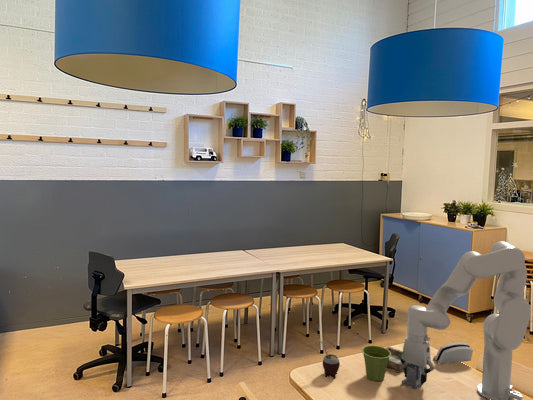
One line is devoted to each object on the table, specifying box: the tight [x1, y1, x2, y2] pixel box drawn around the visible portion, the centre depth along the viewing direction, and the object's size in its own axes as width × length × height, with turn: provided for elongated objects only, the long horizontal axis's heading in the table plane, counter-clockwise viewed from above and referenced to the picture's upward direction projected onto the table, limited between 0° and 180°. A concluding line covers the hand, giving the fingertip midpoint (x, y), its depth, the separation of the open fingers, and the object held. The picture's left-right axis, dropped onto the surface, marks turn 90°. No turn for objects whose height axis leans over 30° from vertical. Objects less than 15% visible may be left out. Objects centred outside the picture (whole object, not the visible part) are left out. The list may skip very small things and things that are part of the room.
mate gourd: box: [317, 339, 341, 380], centre depth 169 cm, size 8×8×15 cm
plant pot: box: [361, 345, 391, 382], centre depth 168 cm, size 12×12×11 cm
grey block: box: [401, 364, 423, 390], centre depth 164 cm, size 6×7×8 cm
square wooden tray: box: [385, 346, 411, 373], centre depth 181 cm, size 12×12×4 cm
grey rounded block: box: [432, 342, 474, 365], centre depth 183 cm, size 17×5×10 cm, turn 103°
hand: (415, 379), depth 163 cm, fingers open, 6 cm apart
